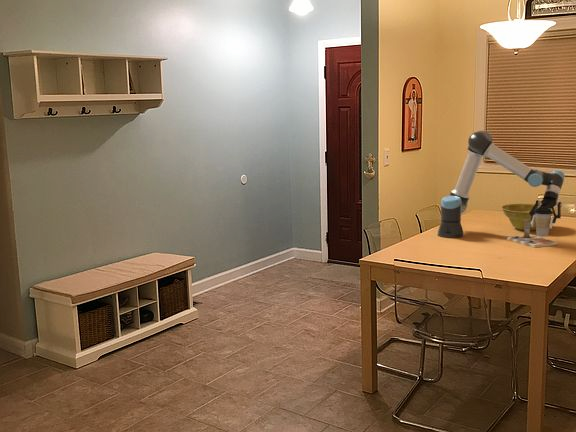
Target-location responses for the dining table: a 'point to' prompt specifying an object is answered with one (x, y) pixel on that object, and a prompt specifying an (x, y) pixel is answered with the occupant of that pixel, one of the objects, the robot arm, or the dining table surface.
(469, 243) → the dining table surface
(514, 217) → the planter bowl
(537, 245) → the control board
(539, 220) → the coffee cup
